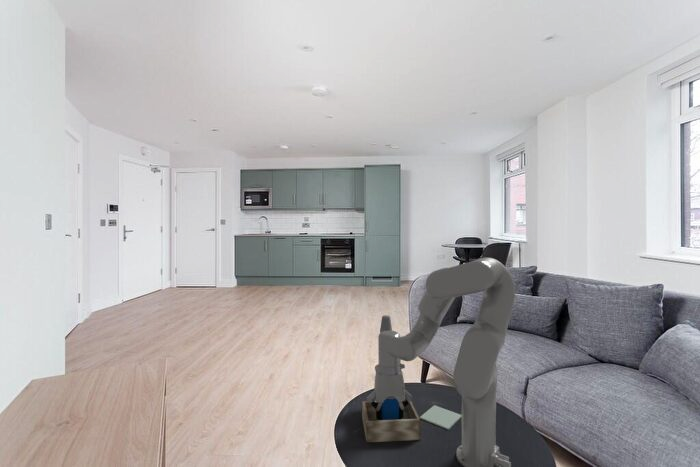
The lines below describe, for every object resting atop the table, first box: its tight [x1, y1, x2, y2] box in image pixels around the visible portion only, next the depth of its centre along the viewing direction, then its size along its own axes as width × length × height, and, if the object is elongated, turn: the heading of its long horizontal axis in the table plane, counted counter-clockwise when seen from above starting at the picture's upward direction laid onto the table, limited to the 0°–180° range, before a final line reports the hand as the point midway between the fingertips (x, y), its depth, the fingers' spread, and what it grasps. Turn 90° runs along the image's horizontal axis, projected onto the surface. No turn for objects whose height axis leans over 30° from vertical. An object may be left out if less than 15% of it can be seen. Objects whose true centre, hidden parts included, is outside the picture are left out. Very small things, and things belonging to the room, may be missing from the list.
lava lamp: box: [374, 314, 393, 372], centre depth 134 cm, size 9×9×35 cm
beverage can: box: [380, 397, 399, 420], centre depth 119 cm, size 6×6×12 cm
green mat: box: [419, 404, 462, 431], centre depth 126 cm, size 11×11×1 cm
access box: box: [361, 400, 421, 443], centre depth 119 cm, size 18×14×6 cm
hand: (389, 419), depth 119 cm, fingers closed on beverage can, 6 cm apart
